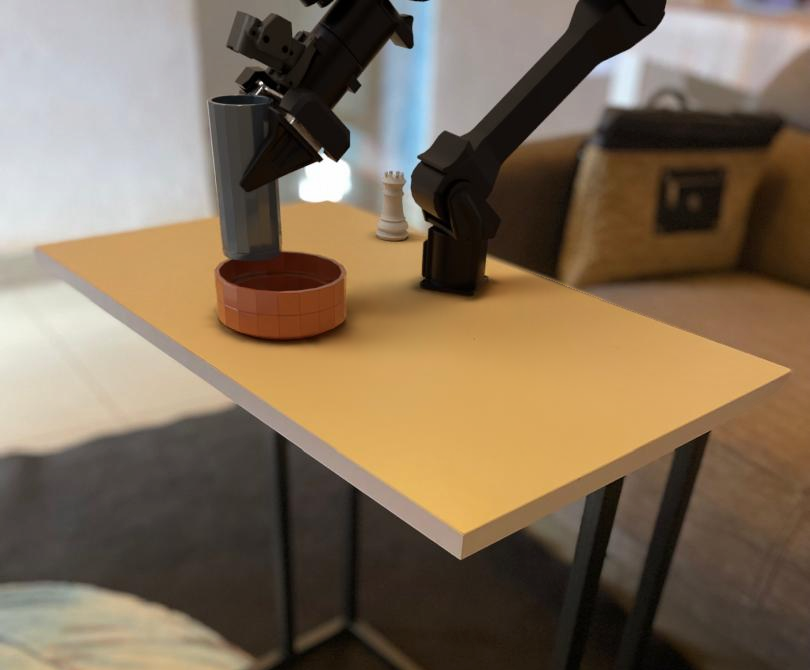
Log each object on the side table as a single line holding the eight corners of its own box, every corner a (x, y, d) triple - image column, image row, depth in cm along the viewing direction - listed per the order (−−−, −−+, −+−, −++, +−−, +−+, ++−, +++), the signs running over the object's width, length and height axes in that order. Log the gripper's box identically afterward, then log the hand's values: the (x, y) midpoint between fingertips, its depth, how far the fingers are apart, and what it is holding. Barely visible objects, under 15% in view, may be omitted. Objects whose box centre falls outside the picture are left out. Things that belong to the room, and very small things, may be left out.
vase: (263, 239, 89) (252, 92, 81) (293, 254, 85) (285, 101, 77) (212, 249, 86) (195, 97, 78) (241, 265, 82) (226, 107, 74)
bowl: (366, 310, 90) (367, 263, 87) (308, 353, 80) (307, 301, 77) (260, 289, 93) (258, 243, 90) (193, 328, 83) (187, 278, 81)
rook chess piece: (368, 236, 112) (369, 172, 107) (388, 229, 115) (390, 167, 110) (396, 243, 110) (398, 178, 105) (415, 236, 113) (418, 173, 108)
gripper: (248, -31, 80) (147, 101, 83) (313, -20, 66) (190, 138, 69) (327, 62, 87) (232, 181, 90) (400, 89, 74) (286, 228, 76)
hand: (234, 181), depth 81 cm, fingers closed on vase, 6 cm apart
